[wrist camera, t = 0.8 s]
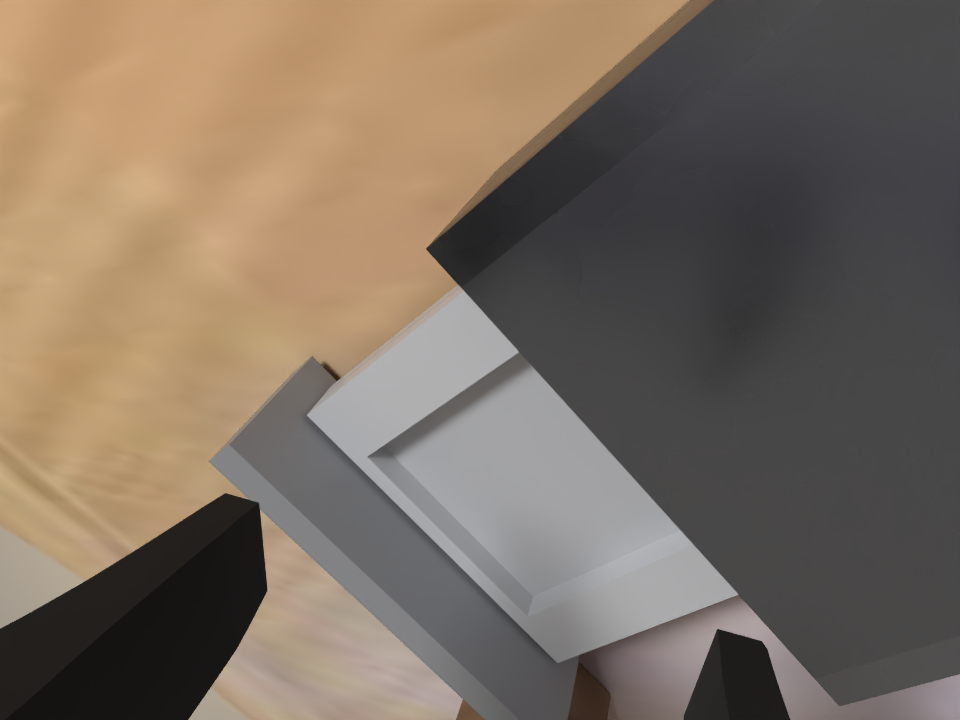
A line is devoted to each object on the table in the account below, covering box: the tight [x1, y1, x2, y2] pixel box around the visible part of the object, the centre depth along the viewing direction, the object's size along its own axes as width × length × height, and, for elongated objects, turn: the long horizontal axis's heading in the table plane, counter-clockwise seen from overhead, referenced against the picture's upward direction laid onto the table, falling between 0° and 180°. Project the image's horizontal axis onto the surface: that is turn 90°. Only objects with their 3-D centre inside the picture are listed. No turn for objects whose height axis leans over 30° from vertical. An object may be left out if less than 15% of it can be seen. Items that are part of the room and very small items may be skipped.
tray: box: [209, 285, 739, 720], centre depth 19 cm, size 13×13×5 cm
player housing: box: [427, 0, 960, 706], centre depth 14 cm, size 14×13×5 cm
